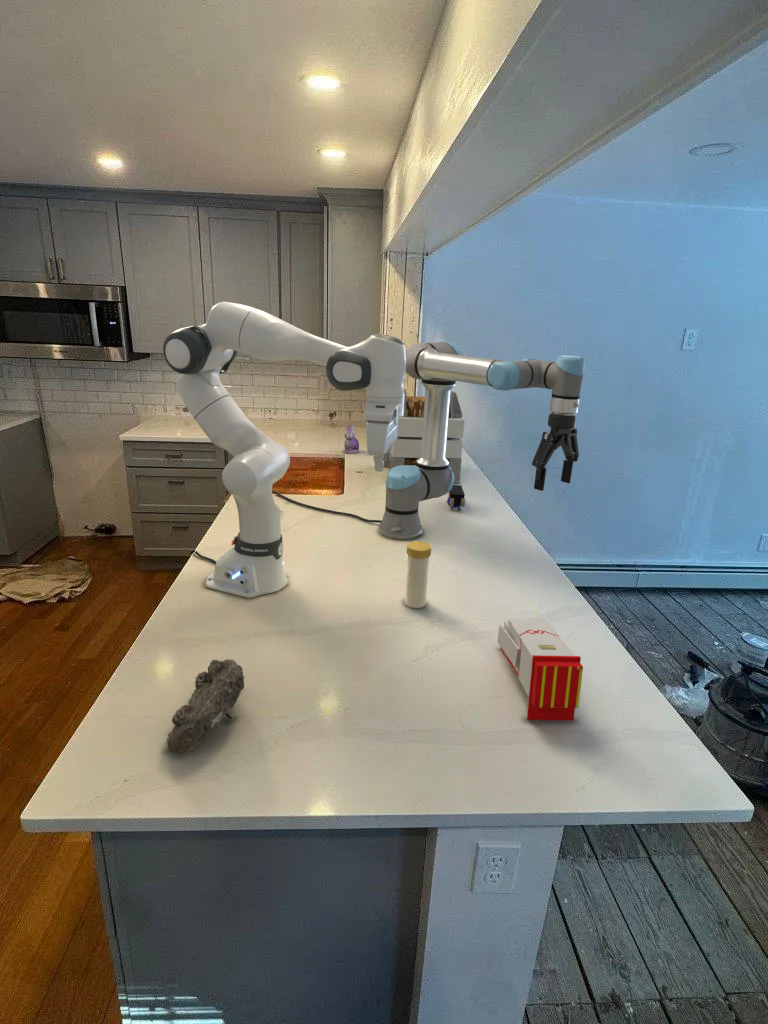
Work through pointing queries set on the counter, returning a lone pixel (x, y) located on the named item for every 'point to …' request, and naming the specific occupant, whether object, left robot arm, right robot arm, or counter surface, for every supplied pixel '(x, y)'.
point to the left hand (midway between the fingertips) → (382, 465)
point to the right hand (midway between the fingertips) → (552, 485)
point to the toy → (542, 668)
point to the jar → (416, 582)
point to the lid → (418, 549)
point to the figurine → (350, 440)
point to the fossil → (206, 705)
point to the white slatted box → (411, 432)
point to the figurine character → (456, 497)
